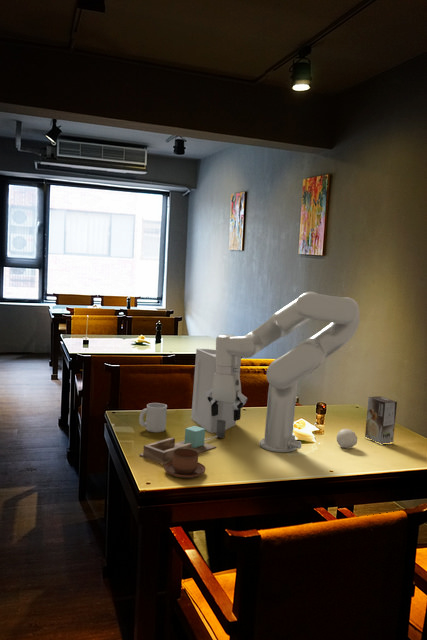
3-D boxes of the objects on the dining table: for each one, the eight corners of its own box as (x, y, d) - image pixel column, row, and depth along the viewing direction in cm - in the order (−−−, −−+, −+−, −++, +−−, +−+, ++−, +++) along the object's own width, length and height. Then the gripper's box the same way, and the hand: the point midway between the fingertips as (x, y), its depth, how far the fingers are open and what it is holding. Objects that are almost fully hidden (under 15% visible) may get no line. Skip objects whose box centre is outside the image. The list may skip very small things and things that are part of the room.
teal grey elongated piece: (217, 433, 196) (219, 418, 195) (227, 436, 193) (229, 421, 192) (184, 444, 181) (185, 428, 180) (194, 447, 178) (195, 431, 178)
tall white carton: (245, 430, 204) (251, 357, 202) (209, 432, 198) (215, 357, 196) (224, 416, 222) (229, 349, 219) (190, 418, 216) (195, 348, 213)
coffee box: (393, 444, 201) (398, 401, 200) (381, 445, 198) (385, 402, 197) (376, 436, 209) (380, 395, 208) (363, 437, 207) (367, 396, 205)
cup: (168, 431, 196) (169, 407, 195) (141, 433, 191) (142, 408, 191) (161, 426, 202) (163, 402, 201) (135, 427, 198) (137, 403, 197)
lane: (190, 439, 189) (191, 429, 189) (216, 447, 182) (216, 437, 182) (139, 455, 169) (140, 444, 169) (165, 465, 162) (166, 454, 162)
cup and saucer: (155, 471, 157) (156, 450, 157) (186, 463, 166) (187, 443, 165) (182, 485, 149) (184, 463, 148) (213, 475, 157) (215, 455, 157)
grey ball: (350, 452, 188) (352, 433, 187) (332, 446, 193) (334, 428, 192) (360, 448, 193) (362, 430, 192) (342, 443, 198) (343, 425, 197)
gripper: (252, 371, 188) (251, 419, 190) (213, 366, 199) (212, 412, 200) (240, 374, 182) (239, 424, 184) (200, 368, 193) (200, 416, 194)
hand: (225, 417), depth 192 cm, fingers open, 9 cm apart
